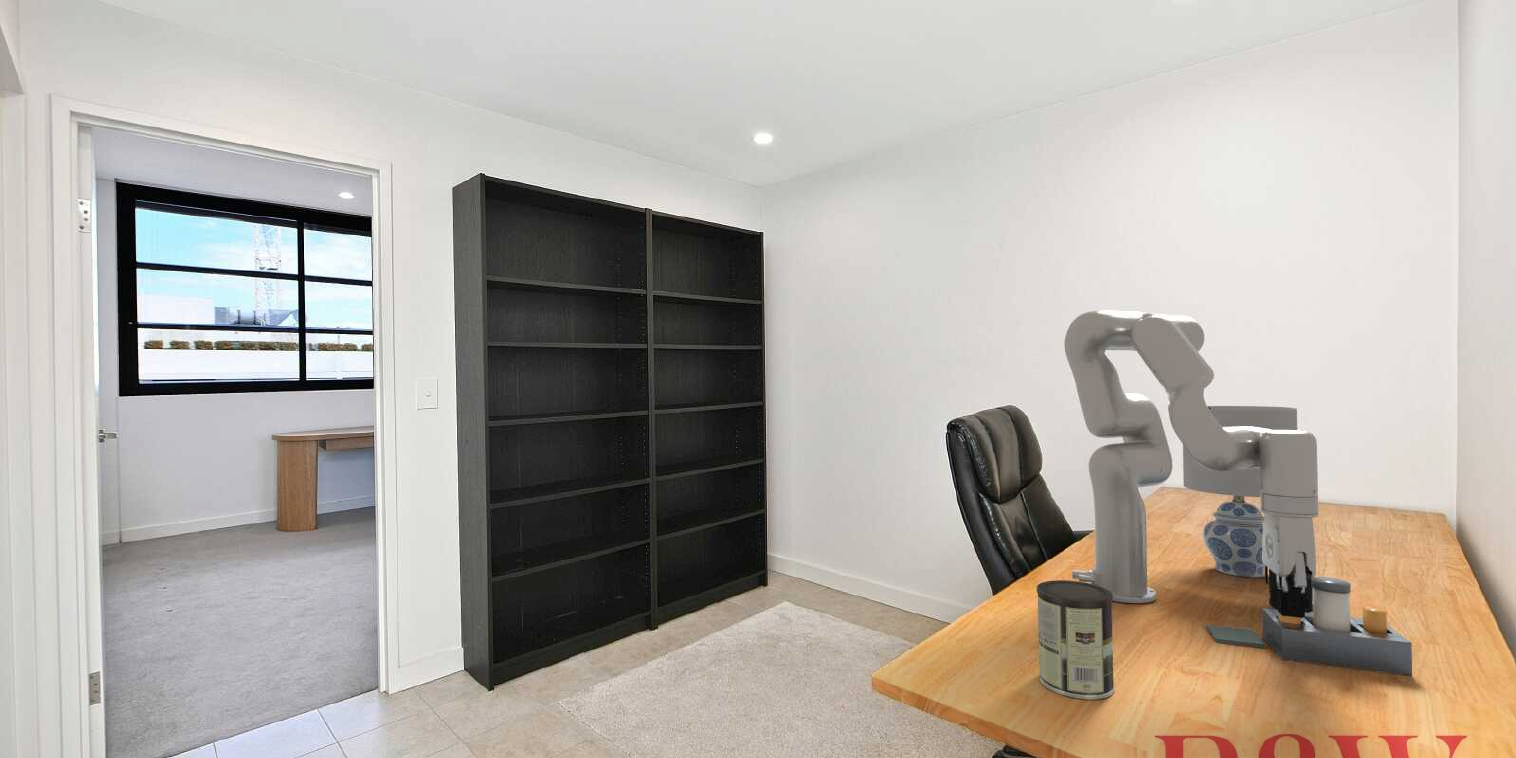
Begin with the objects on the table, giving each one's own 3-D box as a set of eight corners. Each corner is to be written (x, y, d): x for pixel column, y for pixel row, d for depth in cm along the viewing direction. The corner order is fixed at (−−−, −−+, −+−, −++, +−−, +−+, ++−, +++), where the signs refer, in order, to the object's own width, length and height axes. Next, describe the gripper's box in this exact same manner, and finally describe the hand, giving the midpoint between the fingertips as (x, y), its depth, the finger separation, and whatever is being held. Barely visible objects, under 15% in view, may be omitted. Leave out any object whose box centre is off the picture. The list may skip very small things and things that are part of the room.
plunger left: (1282, 646, 109) (1282, 616, 109) (1277, 640, 112) (1276, 610, 112) (1303, 649, 108) (1303, 618, 108) (1297, 642, 110) (1297, 612, 110)
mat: (1215, 642, 113) (1215, 638, 113) (1206, 627, 120) (1206, 624, 120) (1265, 648, 111) (1265, 644, 111) (1253, 632, 117) (1252, 629, 117)
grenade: (1306, 611, 127) (1305, 533, 127) (1318, 622, 121) (1317, 541, 121) (1261, 606, 130) (1260, 530, 130) (1270, 617, 124) (1269, 537, 124)
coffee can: (1077, 665, 105) (1076, 576, 105) (1131, 694, 95) (1129, 596, 95) (1023, 674, 102) (1021, 583, 102) (1072, 705, 92) (1070, 604, 92)
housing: (1282, 659, 106) (1281, 628, 106) (1262, 636, 115) (1262, 608, 115) (1412, 675, 100) (1411, 642, 100) (1380, 650, 109) (1380, 620, 109)
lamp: (1187, 554, 168) (1185, 405, 168) (1296, 567, 155) (1293, 406, 155) (1182, 575, 151) (1179, 409, 151) (1303, 592, 138) (1300, 410, 138)
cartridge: (1319, 658, 106) (1318, 584, 106) (1308, 647, 111) (1307, 575, 111) (1357, 663, 104) (1356, 587, 104) (1344, 651, 109) (1343, 578, 109)
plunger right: (1367, 643, 105) (1367, 611, 105) (1359, 636, 107) (1359, 606, 107) (1390, 645, 104) (1390, 613, 104) (1382, 639, 106) (1381, 608, 106)
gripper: (1248, 496, 118) (1250, 599, 118) (1275, 511, 104) (1278, 628, 104) (1300, 498, 115) (1302, 603, 115) (1335, 514, 101) (1338, 634, 101)
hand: (1291, 615), depth 109 cm, fingers closed
